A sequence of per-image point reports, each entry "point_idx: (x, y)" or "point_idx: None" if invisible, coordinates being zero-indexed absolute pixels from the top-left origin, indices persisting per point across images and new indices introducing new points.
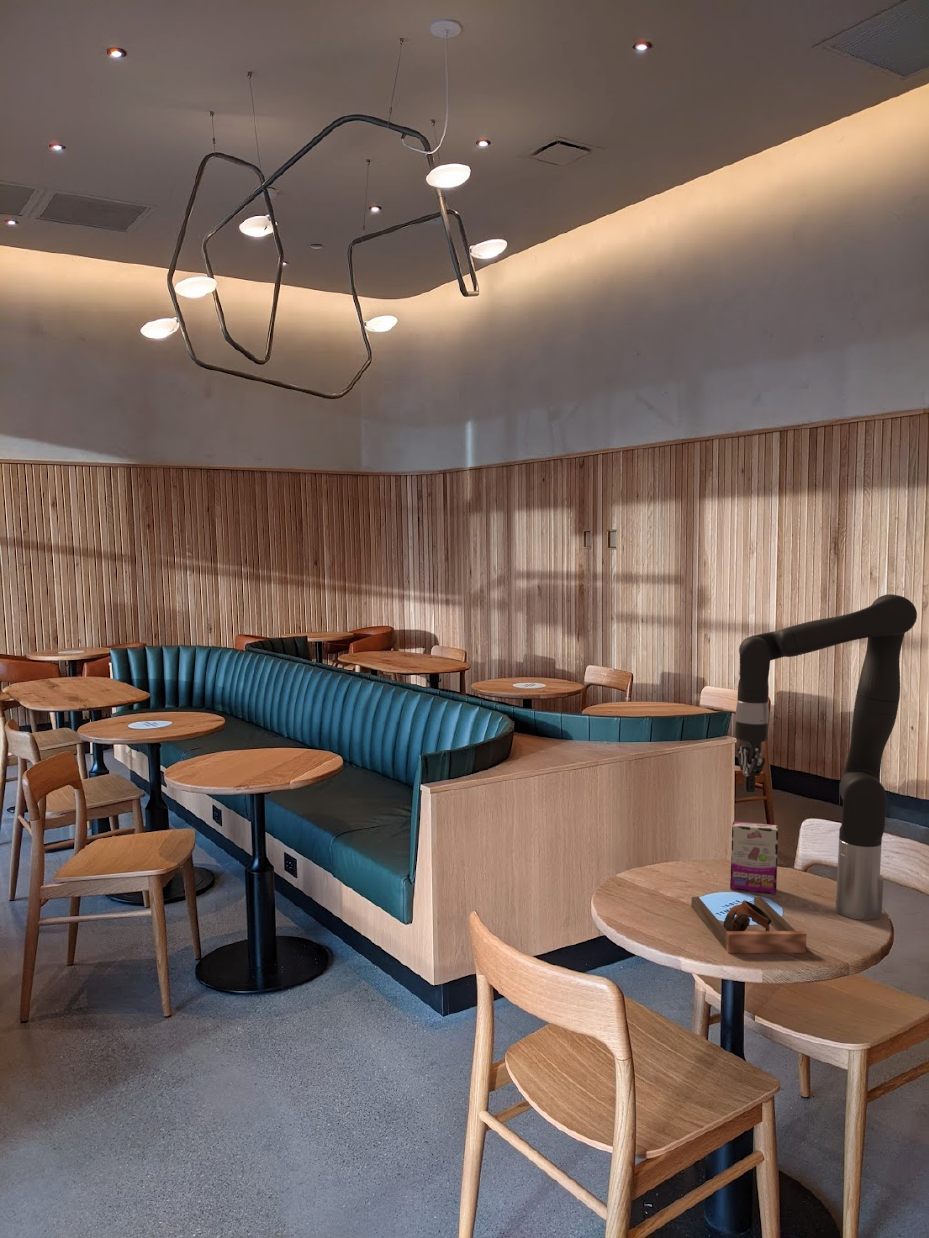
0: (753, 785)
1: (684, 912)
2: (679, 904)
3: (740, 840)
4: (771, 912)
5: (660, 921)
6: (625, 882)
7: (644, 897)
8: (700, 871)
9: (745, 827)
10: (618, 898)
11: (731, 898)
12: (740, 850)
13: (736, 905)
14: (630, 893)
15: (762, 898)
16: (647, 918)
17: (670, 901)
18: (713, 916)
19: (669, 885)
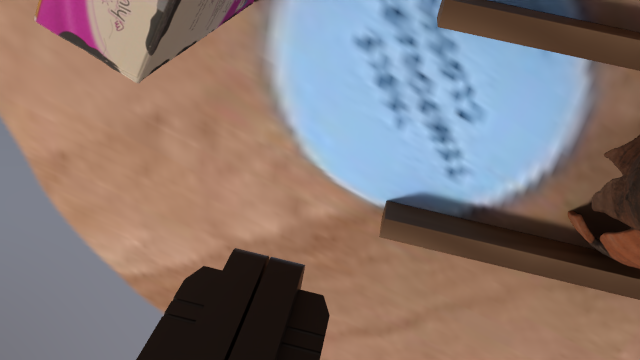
0: (319, 350)
1: (416, 256)
2: (352, 237)
3: (192, 22)
4: (612, 58)
5: (457, 339)
6: (161, 284)
7: None
8: None
9: (167, 15)
10: None
11: (338, 51)
12: (213, 9)
13: (635, 251)
14: None
15: (466, 3)
16: (428, 355)
17: (324, 248)
18: (556, 263)
19: (193, 185)
